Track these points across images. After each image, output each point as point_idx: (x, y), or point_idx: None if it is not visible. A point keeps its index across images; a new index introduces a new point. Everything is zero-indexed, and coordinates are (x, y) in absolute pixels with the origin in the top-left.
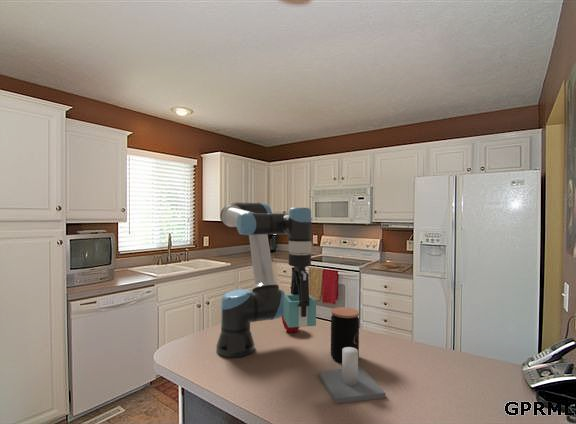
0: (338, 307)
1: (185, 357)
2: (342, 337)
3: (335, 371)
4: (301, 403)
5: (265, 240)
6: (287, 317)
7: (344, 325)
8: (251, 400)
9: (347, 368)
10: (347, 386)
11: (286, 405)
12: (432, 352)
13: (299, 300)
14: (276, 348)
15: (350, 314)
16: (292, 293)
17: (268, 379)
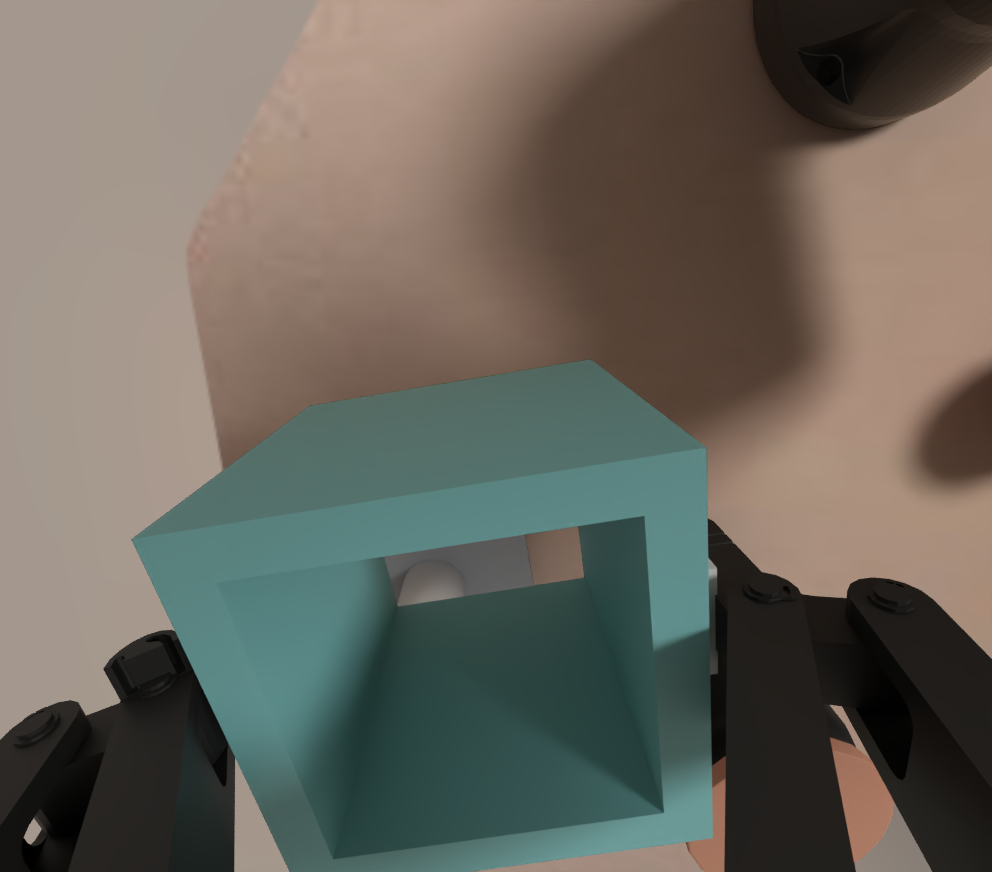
0: (891, 802)
1: None
2: None
3: (513, 548)
4: (305, 385)
5: None
6: (349, 418)
7: None
8: (303, 156)
9: None
10: (396, 571)
11: (285, 323)
12: (663, 869)
13: (160, 730)
14: (831, 281)
15: (710, 843)
16: (767, 623)
17: (487, 238)
